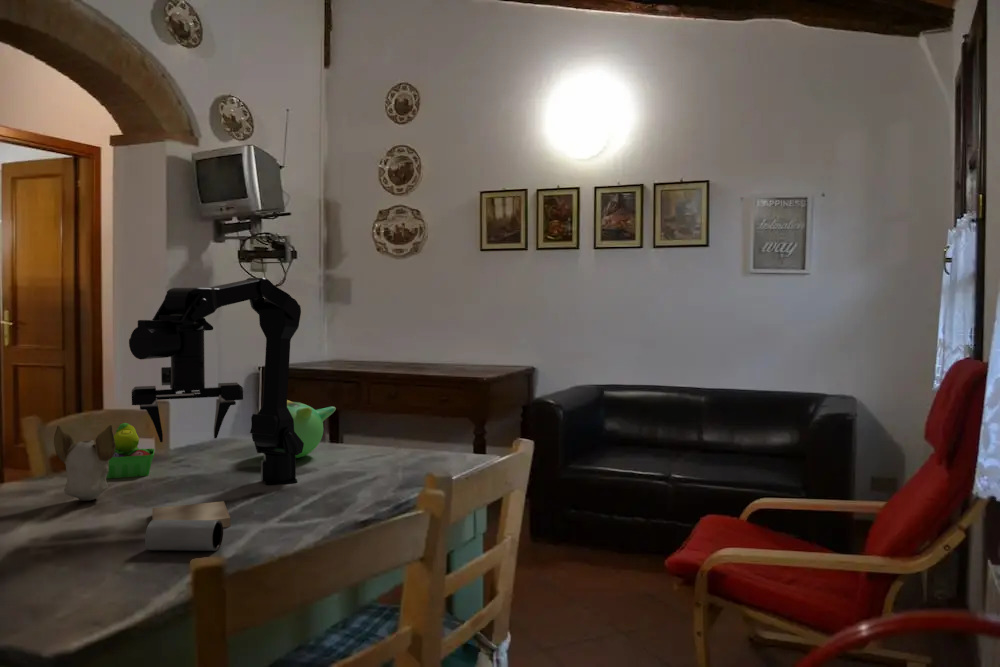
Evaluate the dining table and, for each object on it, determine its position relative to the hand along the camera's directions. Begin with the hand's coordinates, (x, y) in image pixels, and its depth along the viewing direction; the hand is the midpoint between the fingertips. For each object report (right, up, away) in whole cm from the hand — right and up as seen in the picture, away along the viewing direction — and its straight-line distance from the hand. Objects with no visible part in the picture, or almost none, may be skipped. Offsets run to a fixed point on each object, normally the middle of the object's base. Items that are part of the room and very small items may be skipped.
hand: (188, 439), depth 138 cm
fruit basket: (-25, -12, +27) cm, 38 cm away
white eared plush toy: (-21, -13, +4) cm, 25 cm away
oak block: (+4, -14, -7) cm, 16 cm away
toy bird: (+6, -11, +47) cm, 48 cm away
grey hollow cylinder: (+4, -11, -23) cm, 26 cm away
